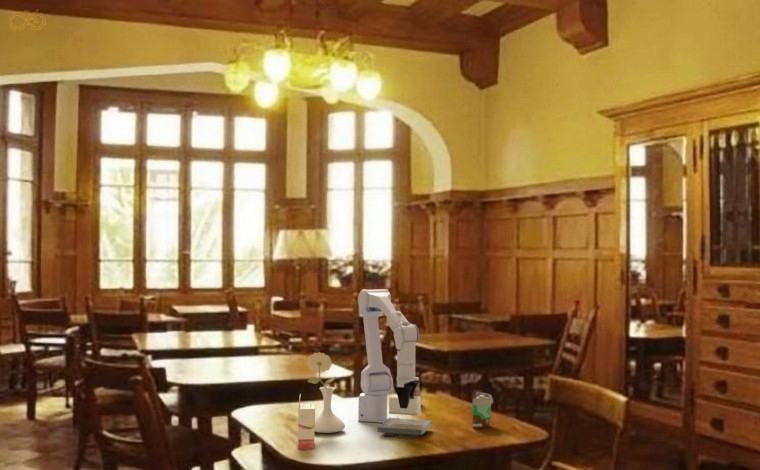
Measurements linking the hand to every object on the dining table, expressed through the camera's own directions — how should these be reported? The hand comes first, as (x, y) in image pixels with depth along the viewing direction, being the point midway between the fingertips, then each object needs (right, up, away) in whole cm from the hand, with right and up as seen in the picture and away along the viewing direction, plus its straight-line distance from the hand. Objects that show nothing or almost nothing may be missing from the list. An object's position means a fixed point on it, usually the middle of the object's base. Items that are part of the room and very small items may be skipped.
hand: (406, 406), depth 267 cm
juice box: (-30, -8, -17) cm, 35 cm away
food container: (+26, -9, +11) cm, 29 cm away
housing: (0, -2, 0) cm, 2 cm away
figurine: (+4, -9, +46) cm, 47 cm away
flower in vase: (-26, -9, +2) cm, 27 cm away
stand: (0, -8, 0) cm, 8 cm away
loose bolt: (0, -9, +12) cm, 15 cm away
